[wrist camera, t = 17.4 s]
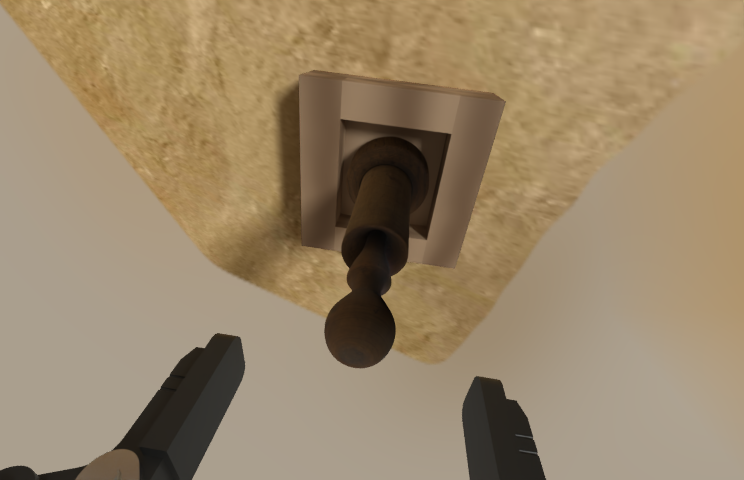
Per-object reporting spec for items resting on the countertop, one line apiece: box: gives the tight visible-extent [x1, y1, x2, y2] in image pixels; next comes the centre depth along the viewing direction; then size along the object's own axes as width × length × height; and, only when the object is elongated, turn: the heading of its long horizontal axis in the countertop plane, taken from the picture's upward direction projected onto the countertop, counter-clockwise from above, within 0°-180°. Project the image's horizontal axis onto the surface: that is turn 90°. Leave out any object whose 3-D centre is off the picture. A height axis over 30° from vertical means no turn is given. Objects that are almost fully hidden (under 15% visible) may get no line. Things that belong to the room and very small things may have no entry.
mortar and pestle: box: [324, 136, 429, 368], centre depth 20 cm, size 7×6×18 cm
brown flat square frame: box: [299, 70, 506, 269], centre depth 27 cm, size 14×14×4 cm
